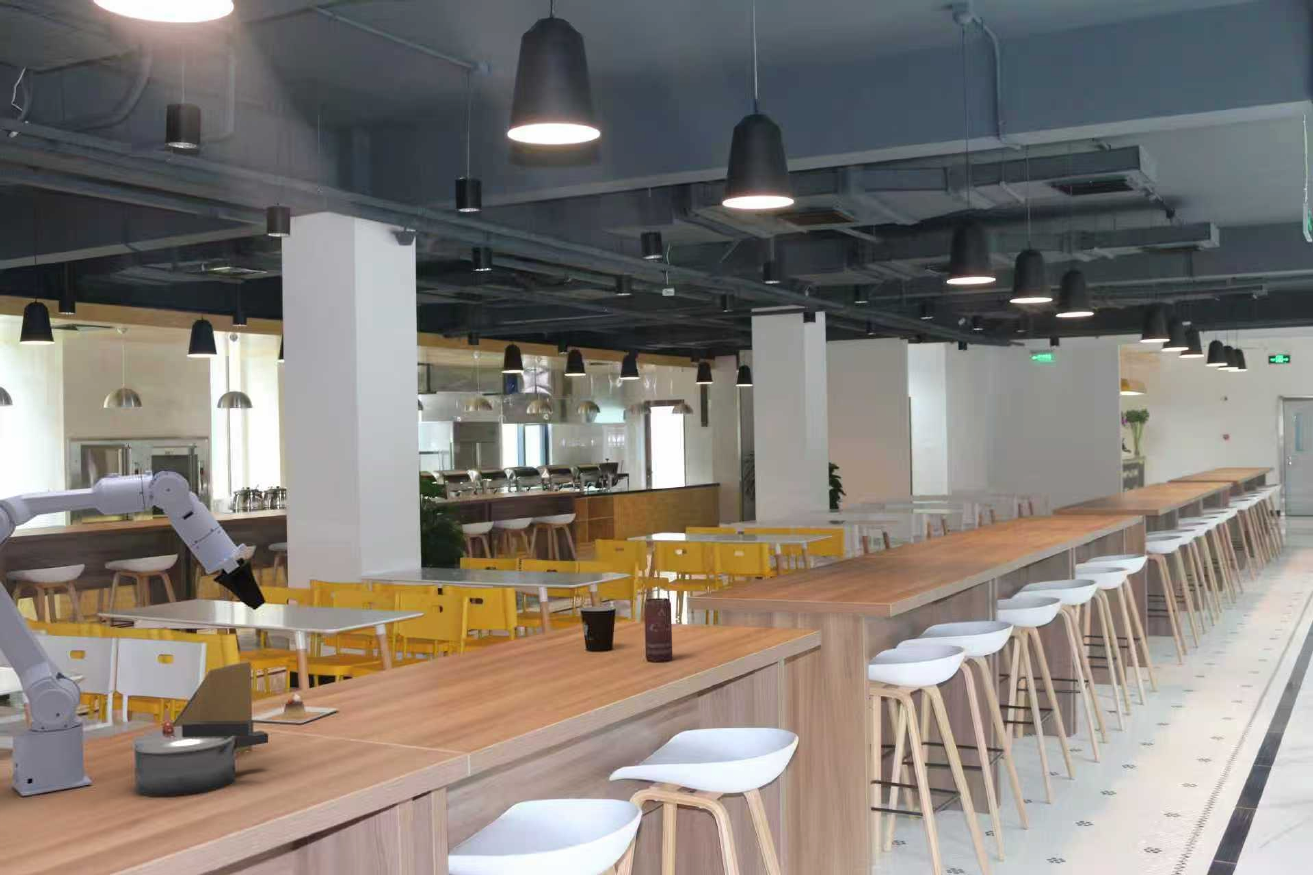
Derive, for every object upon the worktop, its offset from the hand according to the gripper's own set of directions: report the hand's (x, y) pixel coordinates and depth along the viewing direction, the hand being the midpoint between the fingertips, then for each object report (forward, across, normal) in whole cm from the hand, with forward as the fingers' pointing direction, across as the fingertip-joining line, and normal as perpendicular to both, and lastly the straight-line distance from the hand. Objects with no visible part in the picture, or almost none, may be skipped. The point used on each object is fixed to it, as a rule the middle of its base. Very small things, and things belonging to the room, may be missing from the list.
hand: (257, 604), depth 193 cm
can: (+72, +51, -64) cm, 109 cm away
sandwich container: (+16, +14, +20) cm, 30 cm away
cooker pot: (+16, -6, +22) cm, 28 cm away
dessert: (+26, +34, +6) cm, 43 cm away
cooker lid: (+10, -8, +19) cm, 23 cm away
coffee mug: (+68, +74, -60) cm, 117 cm away
